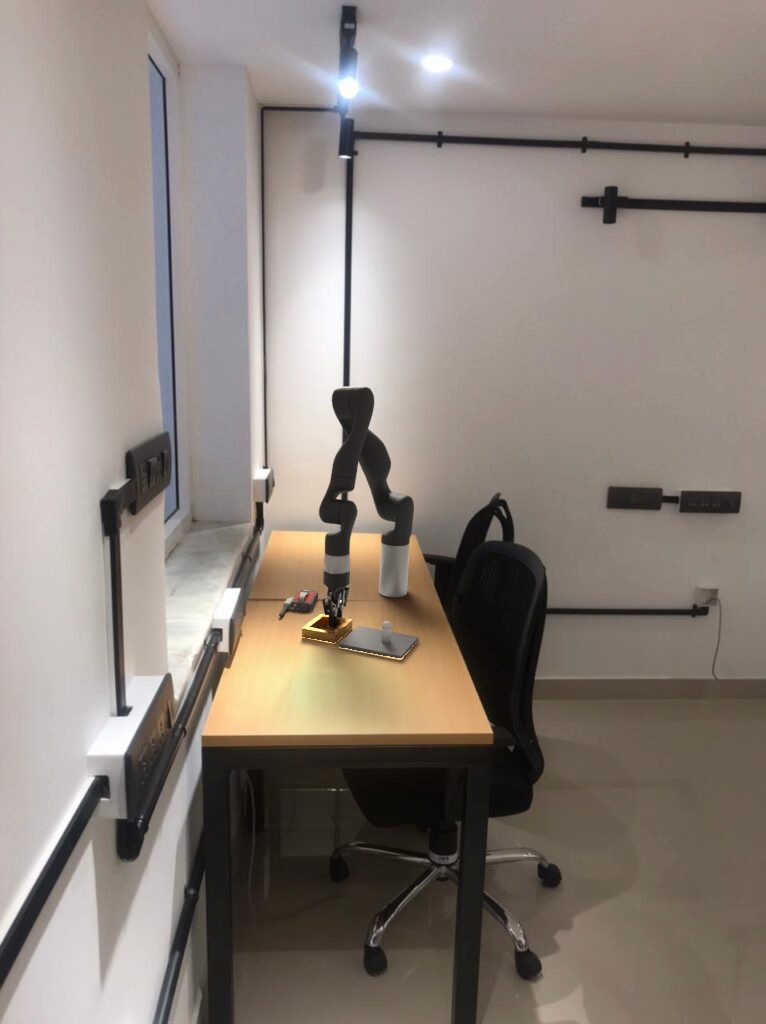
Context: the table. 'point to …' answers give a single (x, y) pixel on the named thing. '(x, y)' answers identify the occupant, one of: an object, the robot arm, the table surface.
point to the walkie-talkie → (301, 601)
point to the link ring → (315, 633)
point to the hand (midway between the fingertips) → (335, 624)
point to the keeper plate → (379, 641)
